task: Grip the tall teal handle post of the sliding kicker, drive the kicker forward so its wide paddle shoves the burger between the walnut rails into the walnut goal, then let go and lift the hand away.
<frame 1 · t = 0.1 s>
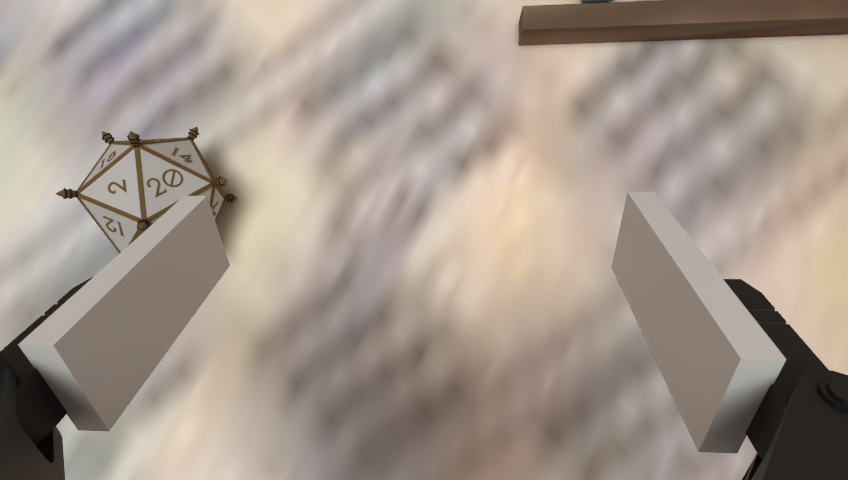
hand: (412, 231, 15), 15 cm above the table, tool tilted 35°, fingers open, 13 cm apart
game die: (197, 205, 32), on the table
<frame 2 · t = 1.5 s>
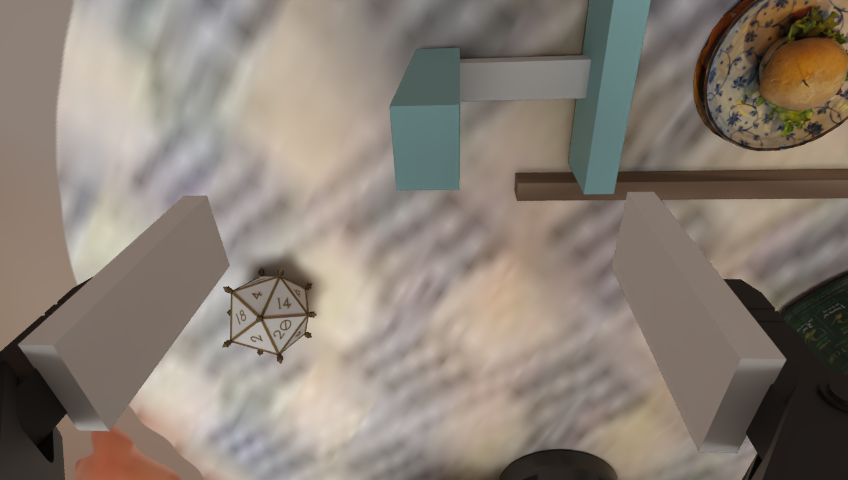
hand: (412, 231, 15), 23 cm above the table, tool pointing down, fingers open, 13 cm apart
kicker: (524, 101, 27), point 8 cm above the table, slide at 0.0 cm
coffee jar: (833, 307, 43), on the table
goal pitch: (846, 61, 32), on the table
burger: (780, 61, 33), on the table
game die: (284, 286, 46), on the table
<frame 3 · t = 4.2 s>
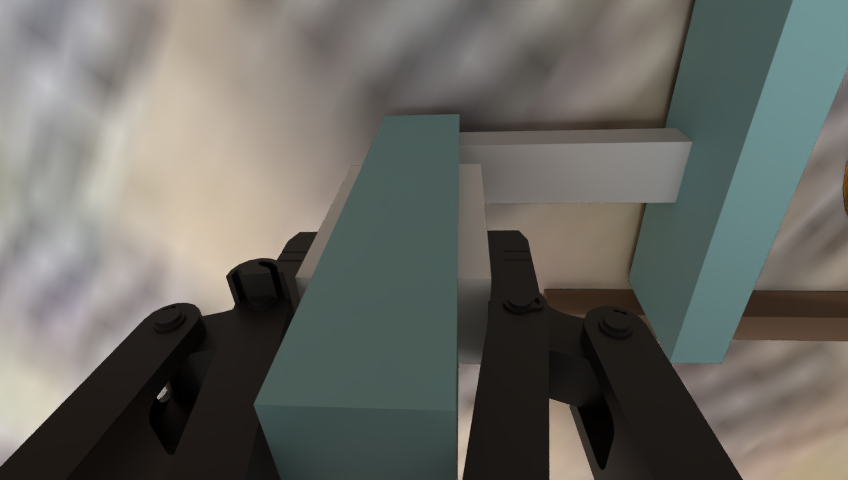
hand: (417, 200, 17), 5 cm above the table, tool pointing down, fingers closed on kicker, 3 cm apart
kicker: (585, 244, 14), point 8 cm above the table, slide at 0.0 cm, touching gripper
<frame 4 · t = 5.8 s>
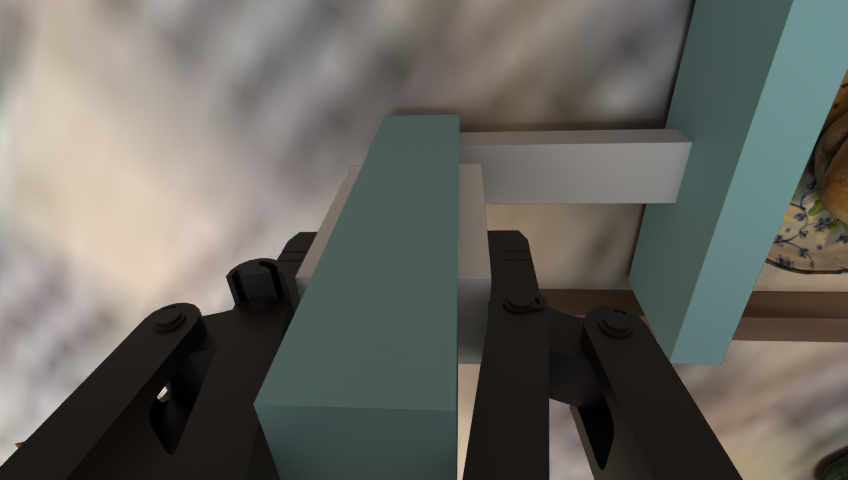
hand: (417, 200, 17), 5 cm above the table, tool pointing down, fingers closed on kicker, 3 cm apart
kicker: (585, 244, 14), point 8 cm above the table, slide at 5.8 cm, touching gripper
burger: (847, 138, 20), on the table
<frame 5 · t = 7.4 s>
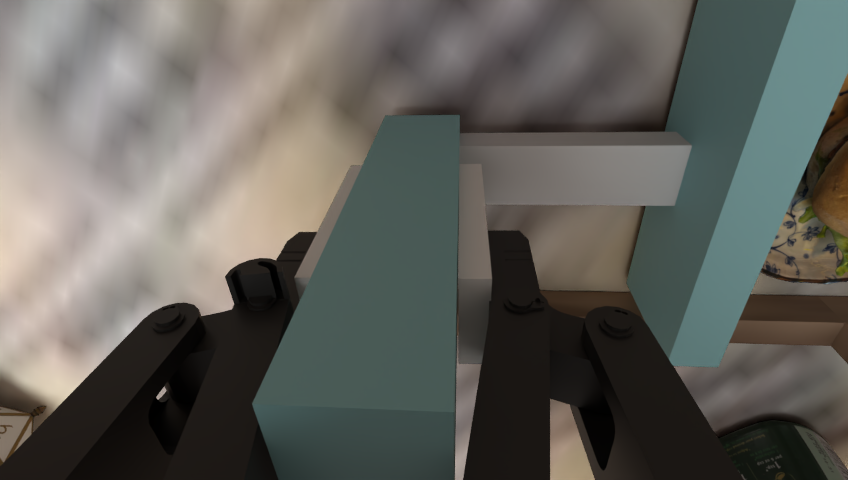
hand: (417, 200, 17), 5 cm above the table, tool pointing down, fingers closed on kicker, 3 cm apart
kicker: (584, 246, 14), point 8 cm above the table, slide at 15.2 cm, touching gripper
coffee jar: (743, 456, 31), on the table
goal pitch: (723, 147, 20), on the table
burger: (840, 147, 20), on the table
game die: (14, 406, 34), on the table
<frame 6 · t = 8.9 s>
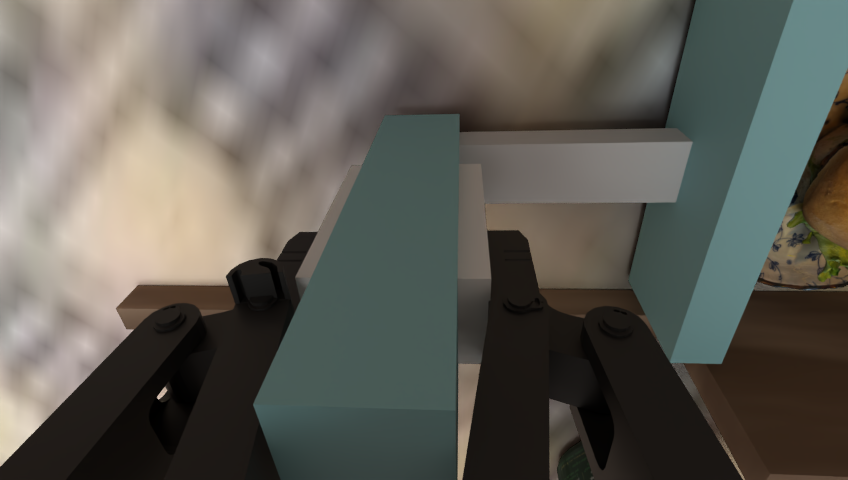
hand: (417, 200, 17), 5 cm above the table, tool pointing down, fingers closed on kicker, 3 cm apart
kicker: (585, 244, 14), point 8 cm above the table, slide at 22.9 cm, touching gripper
coffee jar: (629, 448, 32), on the table
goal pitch: (540, 146, 20), on the table
burger: (830, 157, 20), on the table
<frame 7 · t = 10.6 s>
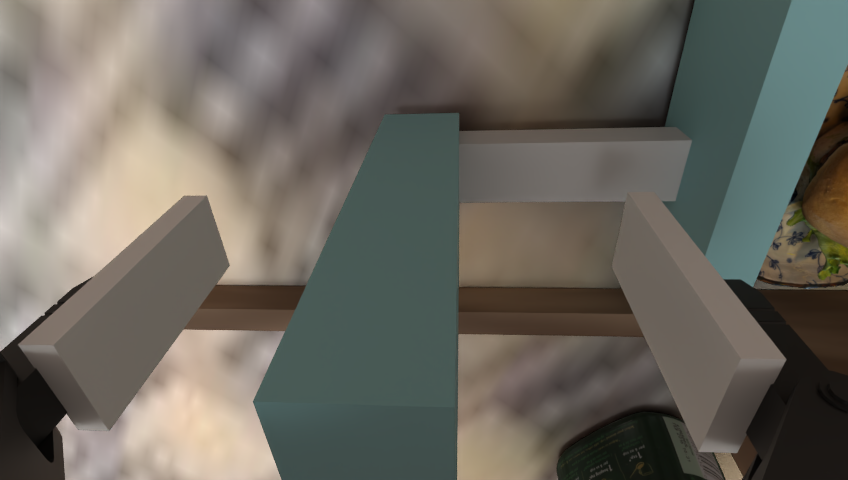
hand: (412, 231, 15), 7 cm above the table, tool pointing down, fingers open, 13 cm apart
kicker: (584, 242, 14), point 8 cm above the table, slide at 23.0 cm
coffee jar: (628, 447, 32), on the table
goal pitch: (539, 145, 20), on the table
burger: (830, 155, 20), on the table
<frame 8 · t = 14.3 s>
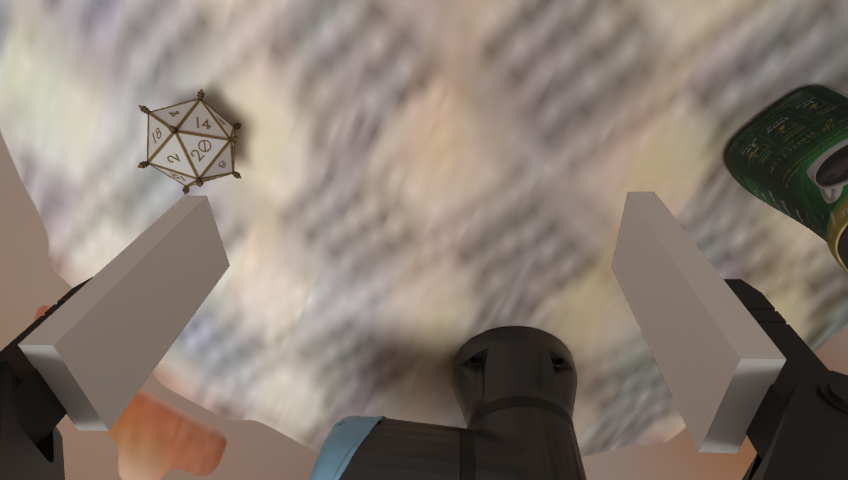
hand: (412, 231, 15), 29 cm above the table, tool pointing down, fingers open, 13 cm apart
coffee jar: (782, 139, 41), on the table
game die: (214, 128, 44), on the table
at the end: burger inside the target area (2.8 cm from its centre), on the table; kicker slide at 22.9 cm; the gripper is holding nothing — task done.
